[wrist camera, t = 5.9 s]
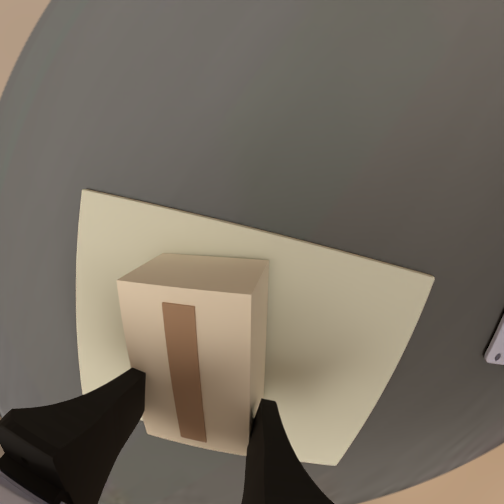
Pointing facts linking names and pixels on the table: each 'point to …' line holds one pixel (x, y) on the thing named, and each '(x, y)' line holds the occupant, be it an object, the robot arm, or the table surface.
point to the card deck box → (198, 346)
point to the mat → (278, 313)
